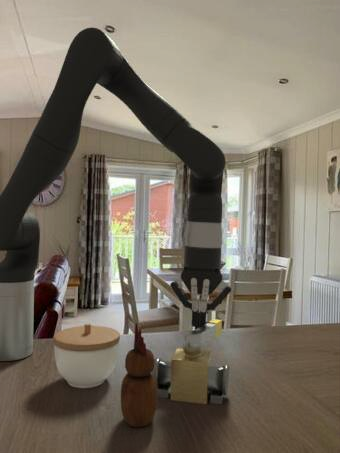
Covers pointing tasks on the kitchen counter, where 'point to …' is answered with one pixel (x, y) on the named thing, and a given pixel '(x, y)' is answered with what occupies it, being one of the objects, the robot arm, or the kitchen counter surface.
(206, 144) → the robot arm
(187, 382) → the ball valve
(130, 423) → the wooden figurine
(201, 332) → the lever
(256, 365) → the kitchen counter surface
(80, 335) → the lidded bowl
